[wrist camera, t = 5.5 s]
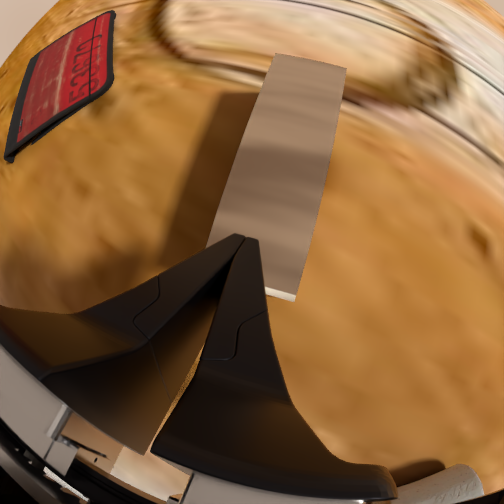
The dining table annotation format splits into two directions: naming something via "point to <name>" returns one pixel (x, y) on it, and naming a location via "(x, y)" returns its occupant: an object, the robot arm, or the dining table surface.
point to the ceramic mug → (441, 488)
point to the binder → (63, 81)
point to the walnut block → (283, 168)
